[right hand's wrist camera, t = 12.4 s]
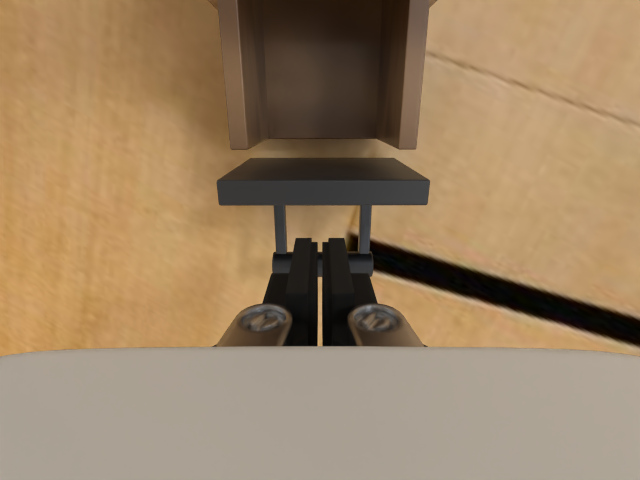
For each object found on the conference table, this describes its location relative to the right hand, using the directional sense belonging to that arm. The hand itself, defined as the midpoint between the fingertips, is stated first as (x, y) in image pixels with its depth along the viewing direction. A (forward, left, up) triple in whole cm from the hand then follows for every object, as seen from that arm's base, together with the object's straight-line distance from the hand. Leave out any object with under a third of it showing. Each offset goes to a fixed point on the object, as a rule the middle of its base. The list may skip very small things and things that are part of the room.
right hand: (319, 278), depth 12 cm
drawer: (+6, -1, -13) cm, 14 cm away
